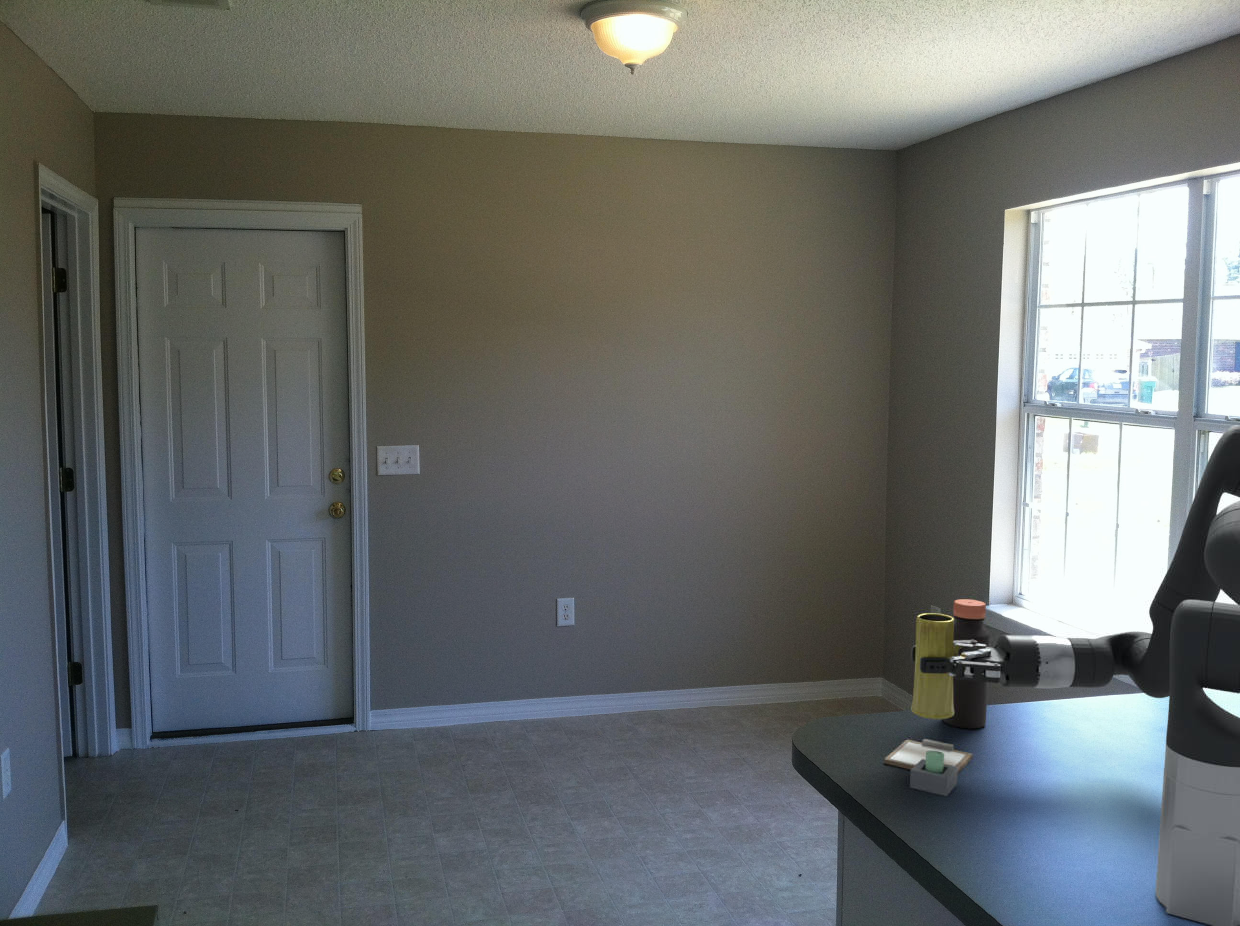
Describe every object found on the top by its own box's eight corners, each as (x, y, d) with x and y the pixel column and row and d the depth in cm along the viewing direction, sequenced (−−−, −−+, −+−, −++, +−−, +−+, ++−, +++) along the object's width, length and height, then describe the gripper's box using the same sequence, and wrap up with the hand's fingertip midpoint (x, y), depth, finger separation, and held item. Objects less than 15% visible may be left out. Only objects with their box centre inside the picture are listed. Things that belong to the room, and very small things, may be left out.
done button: (940, 780, 143) (941, 758, 142) (922, 776, 144) (923, 754, 144) (945, 775, 145) (946, 752, 144) (928, 771, 146) (929, 749, 146)
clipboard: (952, 779, 147) (953, 769, 147) (884, 763, 153) (884, 753, 152) (972, 757, 155) (973, 748, 155) (906, 743, 161) (907, 734, 161)
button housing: (946, 796, 141) (947, 778, 141) (909, 787, 144) (910, 769, 144) (956, 784, 145) (957, 766, 145) (921, 775, 148) (922, 758, 148)
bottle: (933, 720, 171) (939, 601, 169) (957, 712, 176) (963, 595, 174) (970, 732, 166) (976, 609, 164) (994, 724, 170) (1000, 603, 168)
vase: (906, 715, 152) (909, 619, 151) (915, 703, 158) (918, 610, 156) (949, 722, 149) (953, 624, 148) (957, 709, 155) (960, 615, 153)
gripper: (1020, 623, 158) (906, 621, 160) (1052, 650, 144) (927, 647, 145) (1018, 672, 159) (905, 669, 160) (1050, 702, 145) (925, 699, 146)
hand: (916, 658), depth 153 cm, fingers closed on vase, 5 cm apart
